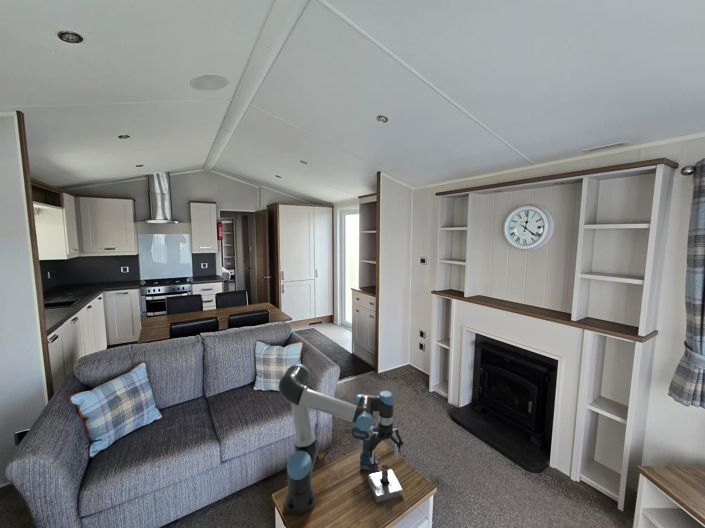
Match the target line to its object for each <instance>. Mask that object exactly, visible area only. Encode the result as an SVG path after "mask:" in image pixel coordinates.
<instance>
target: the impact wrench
mask: <svg viewBox="0 0 705 528" xmlns="http://www.w3.org/2000/svg"><path fill="white" fill-rule="evenodd" d="M372 431H374V432H377V431H378V425H372V426H371V428H370V429H369V430H367V431H362V430H360V429H359V428H358V427H357V426H356V424H355V425H353V426H351V436H352V437H353V439H355V440H360V441H363V443H362V451H361V452H360V456H359V459H360V460H359V466H360V469H361V470H366V471H369V472H371V471H373V472H376V471H377V469H378V461H379V460H378V459H377V457H376V455H375V453H374V464H372V463H371V461H370V456H369V452H367V450H366V446H367V444H368V442H369V440H370V437H371V435H372ZM377 436H378V435H377ZM377 436H376V437H375V439H376V438H377ZM379 438H380V437H379Z"/></svg>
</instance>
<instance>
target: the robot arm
mask: <svg viewBox="0 0 705 528" xmlns="http://www.w3.org/2000/svg"><path fill="white" fill-rule="evenodd" d="M309 377H310V371H309V369H308V367H306V366H305V365H304V364H302V363H294V364H292V365H290V367H288V368H287V369H286V371H285V373H284V374H283V376H282V377H281V378H280V380H279V381H278V383H279V384H278V391H279V393H280V396H281V397H282V398H283V399H284V400H286V401H287V402H289V403H290V404H291V411H292V412H291V413H292V418H293V426H294V433H295V437H294V440H293V443H294V453H292V454H291V455H290V456H289V457H288V460H287V464H286V472H287V490H286V494H285V496H284V508H285V510H286V511H287V513H289V514H291V515H295V516H301V515H305V514H307V513H308V512H310V511H311V510H312V509H313V507H314V506H315V503H316V494H315V490H314V488H313V485H312V473H313V470H314V466H315V463H316V460H317V456H318V454H319V452H320V451H319V450H320V442H319V439H318V438H317V437H316V434H315V433H313V431H312V425H311V424H312V423H311V415H310V409H313V410H317V411H319V412H323V413H326V414H328V415H331V416H334V417H337V418H340V419H341V420H342V419H343V420H346V421H348V422H351V423H354V424H355V425H356V426H357V427H358V428H359V429H360V430H362V431H367V430H369V429H370V428H371V426H373V422H374V412H377V413H378V418H377V419H378V422H377V424H378V425H377V427H378V431H377V432H374V431H372V435H371V437H370V440H369V442H368V444H367V446H366V450H367V452H369V456H370V461H371V463H372V464H374V454H375V449H376V448H377V446H378V445H379V444H380V443H382V441H385V440H389V439H390V440H391V441H392V442H393V443H394V457H395V458H396V460H399V452H400V450H401V447H402V446H404V442H403V440H402V438H401V436H400V433H399V430H398V428H397V427H396V426H395V427H394V409H395V406H394V405H395V396H394V393H392V392H391V391H388V390H382V391H380V392H379V395H375V394H365V393H362V394H361V393H360V394H356V395H355V402H354V404H353V403H350V402H349V401H345V400H342V399H340V398H337V397H333V396H331V395H327V394H325V393H322V392H320V391H316V390H315V389H311V388H309V382H308V379H310V378H309ZM309 408H310V409H309ZM393 434H395V435H396V437H397V439H396V438H395V437H394V436H393ZM377 435H378V436H377ZM376 436H377V438H376V439H375V437H376ZM379 437H380V438H379Z"/></svg>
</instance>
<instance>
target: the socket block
mask: <svg viewBox="0 0 705 528" xmlns="http://www.w3.org/2000/svg"><path fill="white" fill-rule="evenodd" d="M367 483H368V484H369V487H370V489H371V491H372V494H373V496H374V498H375V502H376V503H379V502H383V501H387V500H392V499H395V498H399V497H403V488H402V486H401V484H400V482H399V480H398V478H397V476H396V475H395V473H394V471H393V469H388V485H384V486H382V471H379V472H373V473H370V474H368V475H367Z"/></svg>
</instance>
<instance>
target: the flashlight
mask: <svg viewBox="0 0 705 528" xmlns="http://www.w3.org/2000/svg"><path fill="white" fill-rule="evenodd" d="M388 470H389V466H388V465H386V464H382V465H381V472H382V486H384V485H388Z"/></svg>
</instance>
